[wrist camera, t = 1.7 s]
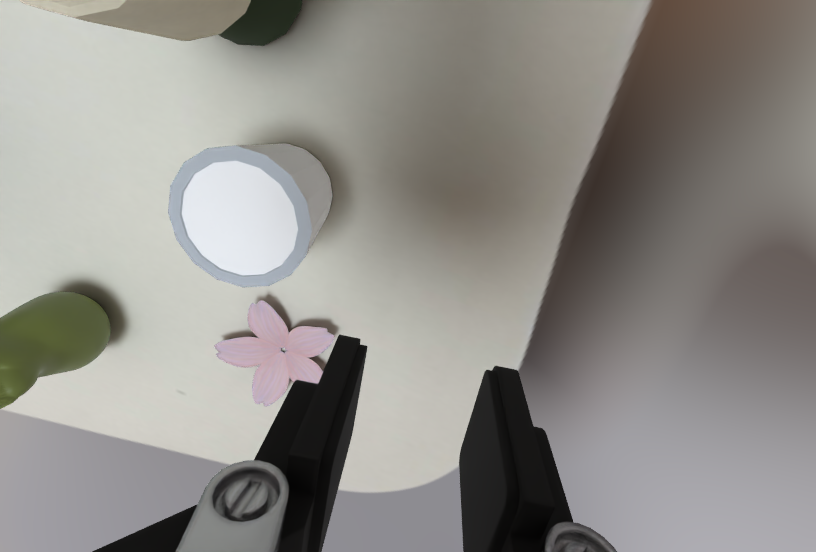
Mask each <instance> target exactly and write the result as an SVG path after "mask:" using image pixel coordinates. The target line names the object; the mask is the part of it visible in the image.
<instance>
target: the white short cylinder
mask: <svg viewBox="0 0 816 552" xmlns="http://www.w3.org/2000/svg"><path fill="white" fill-rule="evenodd" d="M332 198H333V194H332V188H331V182H330V178H329V176H328V174H327V172H326V171H325V169H324V167H323V165H322V164H321V162H320V161H319V160H318V159H316V158H315V157H314V156H313V155H312V154H310V153H309V152H308V151H307V150H305V149H303V148H300V147H297V146H293V145H290V144H261V145H236V146H225V147H215V148H207V149H205V150H203V151H202V152H200V153H199V154H197V155H195V156H194V157H192V158H190V159H189V160H187V161H186V162H184V163H183V165H182V167H181V168H180V170H179V172H178V174H177V175H176V177H175V179H174V180H173V182H172V184H171V186H170V197H169V209H168V213H169V217H170V220H171V223H172V226H173V230H174V233H175V236H176V239H177V241H178V242H179V244H180V245H181V246H182V248H183V249H184V250H185V252H186V253H187V254H188V256H189V257H190V258H191V260H192V261H193V262H194V263H195V264H196V265H198V266H199V267H200V268H202V269H203V270H205V271H206V272H207V273H209V274H210V275H212V276H213V277H214V278H216V279H217V280H221V281H224V282H227V283H231V284H234V285H237V286H240V287H258V286H270V285H272V284H274V283H276V282H278V281H280V280H282V279H284V278H286V277H288V276H290V275H291V274H292V273H293V272H294V270H295V269H296V268H297V267H298V265H299V264H300V263H301V261H302V260H303V259H304V258H305V256H306V255H307V253H308V251H309V249H310V247H311V246H312V244H313V242H314V240H315V238H316V236H317V234H318V232H319V231H320V229H321V227H322V225H323V223H324V221H325V219H326V217H327V215H328V214H329V210H330V206H331V202H332Z"/></svg>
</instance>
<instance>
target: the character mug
mask: <svg viewBox="0 0 816 552" xmlns="http://www.w3.org/2000/svg"><path fill="white" fill-rule="evenodd" d="M20 1H21V2H22V3H24V4H27V5H30V6H34V7H37V8H40V9H44V10H48V11H51V12H55V13H59V14H62V15H66V16H70V17H73V18H77V19H81V20H84V21H88V22H93V23H98V24H103V25H108V26H112V27H117V28H122V29H127V30H132V31H137V32H142V33H147V34H152V35H156V36H161V37H166V38H171V39H176V40H181V41H191V40H195V39H200V38H204V37H209V36H214V35H220V36H221V37H223V38H226V39H228V40H230V41H232V42H234V43H236V44H240V45H260V46H264V45H266V44H268V43H270V42H272V41H273V40H275V39H277V38H279V37H281V36H282V35H284V34H286V33H287V31H288V29H289V28H290V26H291V25H292V23H293V21H294V20H295V18H296V17H297V15H298V13H299V12H300V10H301V6H302V0H20Z"/></svg>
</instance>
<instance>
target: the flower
mask: <svg viewBox="0 0 816 552" xmlns="http://www.w3.org/2000/svg"><path fill="white" fill-rule="evenodd" d="M248 324H249V327H250V329H251V330H252V332H253V333H254V334H255V335H256V336H257V337H258V338H256V337H239V338H234V339H229V340H225V341H221V342H219V343H217V344H216V345H214V347H215V349H216V350H217V351H219V353H217V354H216V355H217V357H218V358H219V359H221V360H223V361H224V362H226V363H229V364H231V365H234V366H238V367H253V366H257V365H259V366H258V368H257V370H256V372H255V375H254V379H253V386H252V389H253V399H254V401H255V403H257V404H260V403H264V406H269V405H271V404H272V403H274V402H275V401H277V400H278V399H279V398H280V397H281V396H282V395H283V394H284V393H285V392H286V390H287V387H288V383H289V377H290V379H291V380H292V381H293V382H295V381H296V380H301V381H306V382H311V383H316V384H318V383H319V381H320V378H321V376H322V374H323V371H322V370H321V368H320V367H319V366H318V365H317V364H316V363H315V362H314V361H312V360H311V359H309V358H310V357H314V356H316V355H318V354H320V353H322V352H323V351H325V350H326V349H327V348H328V347H329V346H330V345H331V343H332V342H333V340H334V335H332V334H330V333H328V332H327V330H328V329H326V328H322V327H310V326H299V327H296V328H294V329H293V330H291V331H290V332H289V331H288V328H287V326H286V325H285V323H284V321H283V320H282V318H281V317H280V316H279V315H278V314H277V313H276V311H275V310H274V309H273V308H272V307H271V306H270V305H269V304H268V303H266V302H265V301H263V300H260V301H259V302H258V303H257V305H255V304H254V303H252V304H251V305H250V307H249V311H248ZM284 347H285V349H286V350H287V351H285V353H284V352H280V351H281V348H284Z"/></svg>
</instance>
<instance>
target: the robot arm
mask: <svg viewBox="0 0 816 552" xmlns="http://www.w3.org/2000/svg"><path fill="white" fill-rule="evenodd" d="M366 352H367V346H364V345H360V339H358V338H353V337H348V336H343V335H339V336H338V338H337V341H336V343H335V345H334V348H333V350H332V352H331V355H330V357H329V359H328V362H327V364H326V367H325V369H324V371H323V374H322V376H321V378H320V381H319V383H318V384H316V383H311V382H306V381H301V380H296V381H295V382H294V383H293V385H292V387H291V389H290V391H289V393H288V395H287V397H286V399H285V401H284V403H283V405H282V407H281V408H280V410H279V412H278V414H277V416H276V418H275V420H274V422H273V424H272V426H271V428H270V430H269V432H268V434H267V436H266V438H265V440H264V442H263V444H262V446H261V448H260V450H259V451H258V453H257V455H256V457H255V459H254V460H251V461H242V462H238V463H234V464H232V465H230V466H228V467H226V468H224V469H222V470H221V471H220V472H219V473H217V474H216V475H215V476H214V477H213V478H212V479H211V480H210V482H209V483H208V485H207V486H206V488H205V490H204V492H203V495H202V496H201V499H200V501H199V503H198V504H197V505H195V506H193V507H191V508H188V509H186V510H184V511H182V512H179V513H177V514H175V515H173V516H171V517H168V518H166V519H164V520H162V521H160V522H157V523H155V524H153V525H151V526H149V527H146V528H144V529H142V530H139V531H137V532H135V533H133V534H131V535H128V536H126V537H124V538H122V539H120V540H117V541H115V542H113V543H110V544H108V545H106V546H104V547H102V548H99V549H97V550H95V551H93V552H321V551H322V547H323V543H324V539H325V536H326V532H327V528H328V524H329V520H330V516H331V513H332V509H333V505H334V501H335V498H336V494H337V490H338V486H339V482H340V479H341V475H342V471H343V467H344V463H345V460H346V456H347V452H348V448H349V444H350V440H351V436H352V432H353V426H354V421H355V415H356V409H357V404H358V398H359V392H360V386H361V381H362V375H363V369H364V364H365V358H366ZM459 467H460V488H461V508H462V529H463V551H464V552H617V551H616V550H615V549H614V547H613V546H612V545H611V544H610V543H609V542H608V541H607V540H606V539H605V538H604V537H603V536H601V535H600V534H598V533H597V532H595V531H594V530H592V529H591V528H589V527H586V526H584V525H581V524H579V523H573V519H572V516H571V513H570V510H569V506H568V503H567V500H566V497H565V493H564V490H563V487H562V483H561V480H560V477H559V474H558V470H557V467H556V464H555V461H554V458H553V454H552V451H551V448H550V444H549V441H548V438H547V435H546V433H545V431H544V430H543V429H542V428H538V427H533V424H532V420H531V416H530V413H529V409H528V405H527V402H526V398H525V395H524V391H523V387H522V384H521V380H520V377H519V373H518V371H517V370H514V369H509V368H504V367H499V366H495V367H494V368H493V370H492V371H490V370H486V371H485V373H484V376H483V379H482V383H481V386H480V389H479V392H478V395H477V399H476V402H475V405H474V408H473V412H472V415H471V418H470V421H469V425H468V428H467V431H466V434H465V438H464V441H463V444H462V447H461V452H460V459H459Z"/></svg>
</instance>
